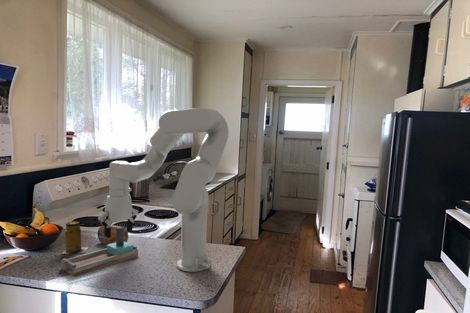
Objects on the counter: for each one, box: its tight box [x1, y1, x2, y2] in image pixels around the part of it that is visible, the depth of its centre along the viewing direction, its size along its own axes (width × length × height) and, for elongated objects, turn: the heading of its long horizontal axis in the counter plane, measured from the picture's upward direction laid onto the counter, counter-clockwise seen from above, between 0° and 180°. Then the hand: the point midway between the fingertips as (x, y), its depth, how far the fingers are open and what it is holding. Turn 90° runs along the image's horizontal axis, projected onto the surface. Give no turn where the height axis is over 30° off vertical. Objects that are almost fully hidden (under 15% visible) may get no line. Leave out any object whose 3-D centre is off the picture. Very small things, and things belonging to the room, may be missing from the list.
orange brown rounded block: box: [97, 224, 129, 246], centre depth 156 cm, size 15×3×8 cm, turn 70°
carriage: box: [106, 226, 134, 256], centre depth 142 cm, size 8×7×10 cm
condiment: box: [61, 220, 89, 255], centre depth 147 cm, size 7×8×12 cm
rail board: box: [60, 244, 139, 278], centre depth 136 cm, size 10×26×4 cm, turn 140°
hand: (118, 234), depth 142 cm, fingers open, 9 cm apart
